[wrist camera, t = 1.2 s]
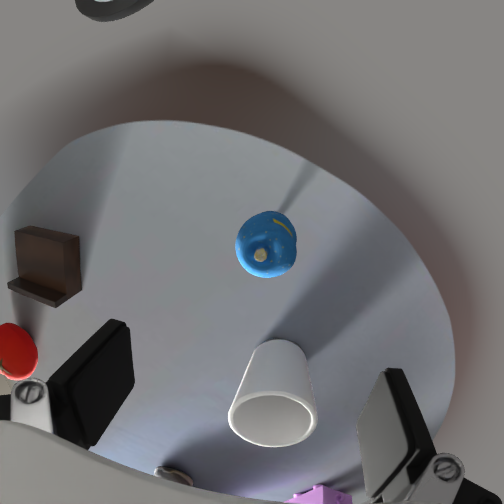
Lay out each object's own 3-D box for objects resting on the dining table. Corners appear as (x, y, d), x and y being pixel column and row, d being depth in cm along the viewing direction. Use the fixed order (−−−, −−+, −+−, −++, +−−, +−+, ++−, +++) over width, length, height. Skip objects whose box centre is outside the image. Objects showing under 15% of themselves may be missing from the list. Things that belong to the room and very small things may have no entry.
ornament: (303, 231, 36) (310, 275, 22) (264, 249, 37) (247, 301, 23) (284, 192, 35) (279, 210, 21) (245, 211, 36) (214, 241, 22)
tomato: (7, 331, 50) (-24, 353, 40) (17, 304, 47) (-19, 328, 36) (40, 371, 52) (11, 398, 41) (54, 349, 48) (20, 379, 38)
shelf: (30, 225, 41) (1, 235, 35) (79, 235, 40) (49, 248, 34) (33, 274, 44) (8, 288, 37) (81, 290, 43) (55, 308, 36)
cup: (256, 388, 44) (244, 451, 32) (234, 337, 41) (213, 398, 29) (320, 375, 42) (325, 440, 30) (304, 321, 39) (307, 383, 27)
